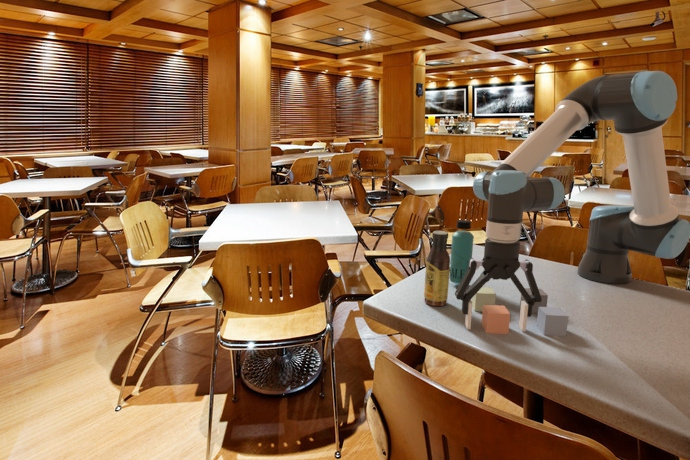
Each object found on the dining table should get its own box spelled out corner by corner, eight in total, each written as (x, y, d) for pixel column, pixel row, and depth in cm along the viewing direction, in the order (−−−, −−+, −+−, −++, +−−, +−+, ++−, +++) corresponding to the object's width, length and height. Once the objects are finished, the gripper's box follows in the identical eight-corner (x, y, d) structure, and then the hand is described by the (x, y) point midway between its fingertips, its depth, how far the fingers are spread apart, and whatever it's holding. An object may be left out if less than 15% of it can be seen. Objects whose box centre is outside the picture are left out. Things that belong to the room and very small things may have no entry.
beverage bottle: (468, 282, 141) (473, 218, 136) (472, 289, 134) (477, 223, 130) (447, 281, 142) (451, 218, 137) (449, 288, 135) (454, 222, 131)
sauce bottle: (421, 299, 127) (424, 229, 122) (443, 298, 127) (447, 228, 123) (427, 308, 121) (431, 234, 116) (450, 307, 121) (455, 234, 117)
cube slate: (557, 327, 110) (560, 307, 109) (566, 336, 105) (568, 315, 104) (536, 326, 110) (538, 306, 109) (543, 335, 106) (546, 315, 104)
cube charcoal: (539, 306, 123) (540, 288, 122) (545, 313, 118) (547, 295, 117) (519, 305, 123) (521, 288, 122) (525, 313, 118) (527, 294, 117)
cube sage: (489, 304, 124) (491, 287, 122) (494, 312, 119) (495, 293, 118) (470, 304, 124) (472, 286, 123) (474, 311, 119) (476, 293, 118)
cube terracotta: (502, 325, 111) (504, 305, 110) (508, 334, 106) (510, 313, 105) (481, 324, 111) (483, 305, 110) (486, 333, 106) (488, 313, 105)
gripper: (451, 241, 101) (445, 332, 106) (564, 244, 99) (553, 336, 104) (446, 234, 108) (441, 319, 113) (551, 236, 107) (541, 323, 111)
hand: (494, 327), depth 108 cm, fingers open, 12 cm apart
